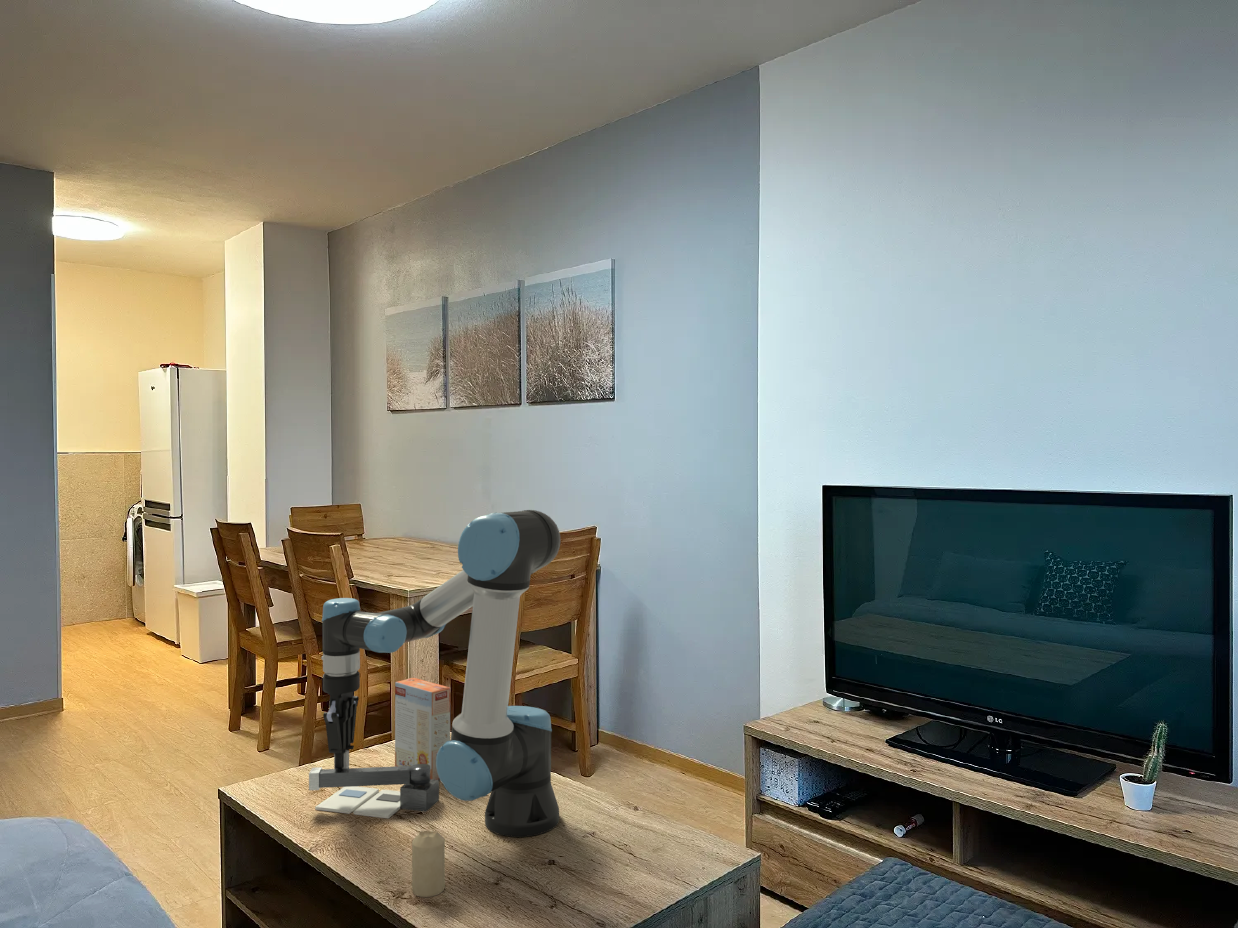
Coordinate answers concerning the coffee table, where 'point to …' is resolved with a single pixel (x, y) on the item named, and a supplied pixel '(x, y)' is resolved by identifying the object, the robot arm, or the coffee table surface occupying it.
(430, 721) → the cracker box
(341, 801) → the label plate
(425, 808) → the pivot post
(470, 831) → the coffee table surface
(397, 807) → the label plate
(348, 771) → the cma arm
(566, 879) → the coffee table surface
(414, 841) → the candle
